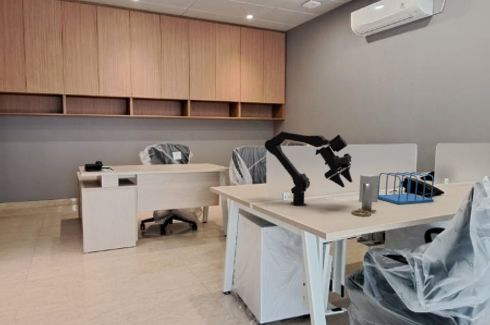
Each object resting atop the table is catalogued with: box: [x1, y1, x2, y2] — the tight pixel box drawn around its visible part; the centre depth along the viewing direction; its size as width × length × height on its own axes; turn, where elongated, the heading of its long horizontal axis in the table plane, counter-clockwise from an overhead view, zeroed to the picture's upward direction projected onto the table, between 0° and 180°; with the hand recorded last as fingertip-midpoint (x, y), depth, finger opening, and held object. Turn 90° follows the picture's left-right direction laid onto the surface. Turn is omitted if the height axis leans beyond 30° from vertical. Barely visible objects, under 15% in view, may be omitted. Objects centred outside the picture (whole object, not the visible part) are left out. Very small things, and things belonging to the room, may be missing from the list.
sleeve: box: [361, 183, 373, 212], centre depth 165 cm, size 4×4×13 cm
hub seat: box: [350, 209, 372, 218], centre depth 159 cm, size 11×11×2 cm
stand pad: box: [357, 207, 377, 215], centre depth 166 cm, size 8×8×1 cm
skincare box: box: [358, 173, 379, 203], centre depth 189 cm, size 8×6×15 cm
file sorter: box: [377, 171, 435, 205], centre depth 196 cm, size 25×17×15 cm
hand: (347, 184), depth 168 cm, fingers open, 9 cm apart
